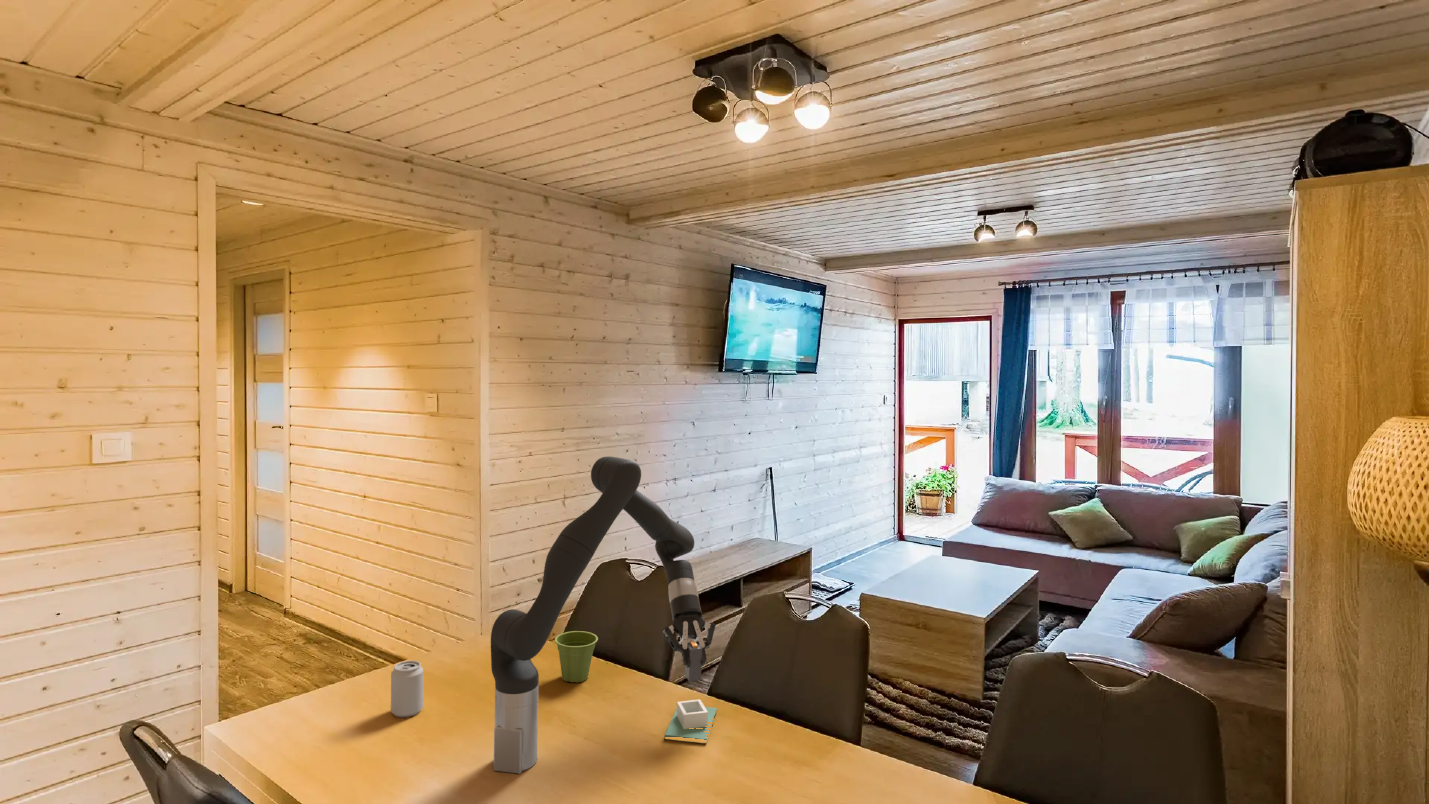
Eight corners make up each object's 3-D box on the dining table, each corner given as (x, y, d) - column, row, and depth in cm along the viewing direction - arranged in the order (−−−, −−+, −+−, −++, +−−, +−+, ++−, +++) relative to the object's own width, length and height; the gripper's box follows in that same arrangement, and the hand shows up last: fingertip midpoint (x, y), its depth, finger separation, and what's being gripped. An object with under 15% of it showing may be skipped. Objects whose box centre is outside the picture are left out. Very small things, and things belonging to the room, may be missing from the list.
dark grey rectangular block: (700, 680, 177) (702, 646, 177) (688, 681, 177) (690, 647, 176) (696, 672, 181) (697, 639, 180) (684, 673, 180) (686, 640, 180)
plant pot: (574, 691, 196) (574, 650, 196) (545, 678, 204) (545, 639, 203) (605, 676, 206) (606, 637, 205) (577, 665, 213) (577, 627, 212)
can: (428, 706, 186) (429, 659, 185) (413, 720, 178) (414, 671, 178) (400, 703, 186) (401, 657, 186) (384, 717, 179) (384, 669, 178)
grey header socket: (707, 726, 177) (708, 712, 176) (683, 729, 175) (684, 715, 175) (699, 712, 183) (700, 699, 183) (676, 715, 182) (677, 701, 181)
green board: (706, 744, 171) (706, 739, 170) (664, 739, 172) (664, 734, 172) (716, 712, 186) (717, 708, 186) (678, 708, 188) (678, 704, 188)
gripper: (660, 594, 183) (670, 661, 172) (713, 591, 187) (727, 656, 176) (655, 608, 188) (664, 674, 177) (707, 605, 192) (719, 669, 181)
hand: (695, 665), depth 177 cm, fingers closed on dark grey rectangular block, 3 cm apart
